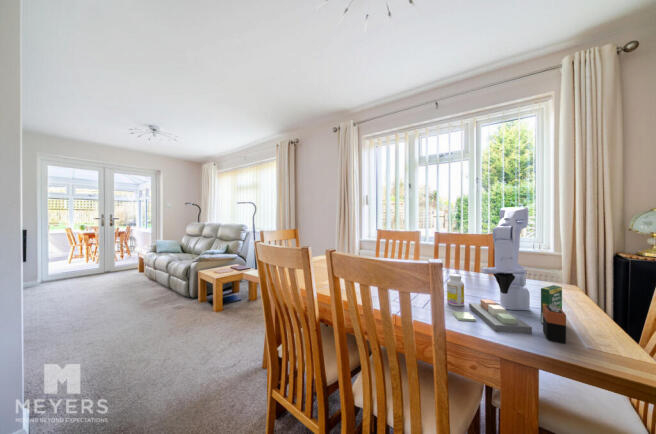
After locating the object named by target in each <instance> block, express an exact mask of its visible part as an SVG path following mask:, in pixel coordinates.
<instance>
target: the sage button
mask: <svg viewBox="0 0 656 434" xmlns="http://www.w3.org/2000/svg"><path fill="white" fill-rule="evenodd" d="M497 319H498V320H499V321H500V322H501V323H503V324H516V318H514V317H513V316H511V315H510V314H498V313H497Z"/></svg>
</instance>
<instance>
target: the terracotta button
mask: <svg viewBox="0 0 656 434" xmlns="http://www.w3.org/2000/svg"><path fill="white" fill-rule="evenodd" d="M480 304H481V307H482V308H483V309H485V310H488V305H498V304H497V303H496V301H494V300H492V299H487V298H485V299H483V298H481V299H480Z"/></svg>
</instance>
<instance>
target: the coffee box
mask: <svg viewBox="0 0 656 434" xmlns="http://www.w3.org/2000/svg"><path fill="white" fill-rule="evenodd" d="M549 304H553V305H556V307H559V308H561V309H562V310H563V287H562V286H559V285H554V284H552V285H549V286H545V287H540V324H542V325H543V305H547V306H549Z"/></svg>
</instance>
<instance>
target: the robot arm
mask: <svg viewBox="0 0 656 434" xmlns="http://www.w3.org/2000/svg"><path fill="white" fill-rule="evenodd" d="M528 225H529V208H528V207H527V206H522V207H518V206H517V207H513V206H512V207H501V208H500V209H499V221H498V224H497V225H496V226H494V227H492V240H493V245H494V267H481V273H482V274H484V275H487V274H493V276H494V278H495V281H496V282H497V284H498V287H499V301H496V300H495V303H497V305H500V306H502V307H503V308H505V309H506V310H512V311H514V310H515V311H532V309H531V307H530V306H531V305H530V291H529V289H528V287H526V283H527V282H526V281H527V275H528V274H527V272H528V271H527V269H525V267H523V266H522V265H521V264H520V263H519V253H520V243H521V242H520V241H521V234H522V231H523V230H524V229H525V228H528Z"/></svg>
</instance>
